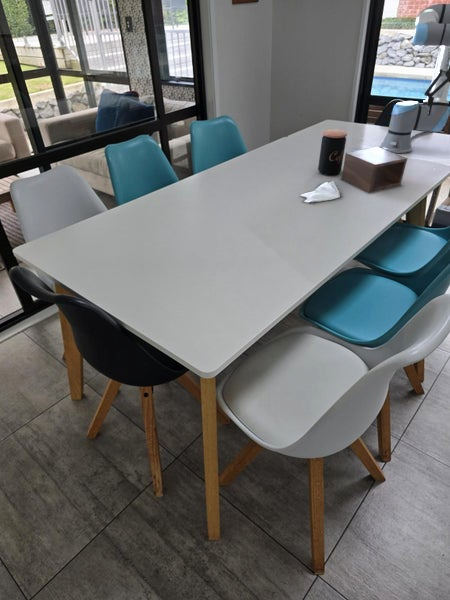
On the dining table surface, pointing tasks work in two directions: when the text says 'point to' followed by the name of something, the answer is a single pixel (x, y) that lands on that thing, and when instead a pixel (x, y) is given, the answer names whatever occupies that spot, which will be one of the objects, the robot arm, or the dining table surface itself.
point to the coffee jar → (332, 152)
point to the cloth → (322, 193)
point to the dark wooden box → (373, 169)
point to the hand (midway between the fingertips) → (446, 116)
